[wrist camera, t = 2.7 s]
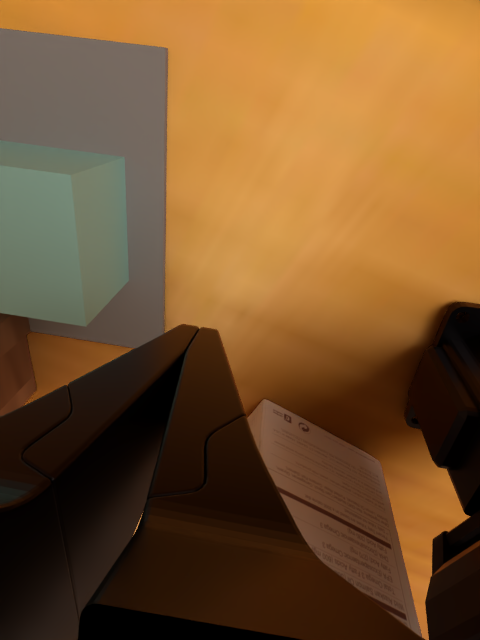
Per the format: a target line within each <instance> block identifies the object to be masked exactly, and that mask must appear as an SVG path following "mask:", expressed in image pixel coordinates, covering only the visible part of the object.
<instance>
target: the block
mask: <svg viewBox="0 0 480 640" xmlns="http://www.w3.org/2000/svg"><path fill="white" fill-rule="evenodd" d="M128 281H129V269H128V241H127V214H126V186H125V159H124V157H120V156H113V155H105V154H98V153H90V152H83V151H76V150H68V149H61V148H53V147H46V146H38V145H31V144H23V143H16V142H8V141H1V140H0V313H4V314H10V315H16V316H23V317H29V318H35V319H41V320H48V321H54V322H60V323H66V324H73V325H79V326H85V327H86V326H87V325H88V324H89V323H90V322H91V321H92V320H93V319H94V318H95V317H96V316H97V314H98V313H99V312H100V311H101V310H102V309H103V308H104V307H105V306H106V305H107V304H108V303H109V302H110V300H111V299H112V298H113V297H114V296H115V295H116V294H117V293H118V292H119V291H120V290H121V289H122V287H123V286H124V285H125V284H126V283H127V282H128Z"/></svg>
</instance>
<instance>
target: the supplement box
mask: <svg viewBox="0 0 480 640" xmlns="http://www.w3.org/2000/svg"><path fill="white" fill-rule="evenodd" d="M247 420H248V423H249V426H250V429H251V432H252V434H253V437H254V440H255V442H256V445H257V448H258V450H259V452H260V454H261V456H262V458H263V461H264V463H265V465H266V467H267V469H268V471H269V473H270V475H271V477H272V479H273V481H274V482H275V484H276V486H277V488H278V490H279V492H280V494H281V496H282V498H283V500H284V502H285V504H286V505H287V507H288V509H289V511H290V513H291V515H292V517H293V519H294V521H295V523H296V525H297V527H298V528H299V530H300V532H301V534H302V536H303V537H304V539H305V541H306V542H307V544H308V545H309V547H310V548H311V549H312V550H313V552H314V553H315V554H316V555H317V557H318V558H319V559H320V560H321V561H322V562H323V563H324V564H326V565H327V566H328V567H329V568H331V569H332V570H333V571H335V572H336V573H337V574H339V575H340V576H341V577H343V578H344V579H345V580H347V581H348V582H349V583H351V584H352V585H353V586H354V587H356V588H357V589H358V590H360V591H361V592H362V593H364V594H365V595H366V596H368V597H369V598H370V599H372V600H373V601H374V602H376V603H377V604H378V605H380V606H381V607H382V608H383V609H385V610H386V611H387V612H389V613H390V614H391V615H393V616H394V617H395V618H397V619H398V620H399V621H401V622H402V623H403V624H405V625H406V626H407V627H408V628H410V629H411V630H412V631H414V632H415V633H416V634H418V635H419V636H421V637H422V634H421V630H420V626H419V622H418V618H417V614H416V610H415V606H414V601H413V597H412V593H411V589H410V584H409V580H408V576H407V572H406V567H405V563H404V559H403V555H402V551H401V546H400V542H399V537H398V533H397V529H396V526H395V521H394V517H393V513H392V508H391V504H390V500H389V495H388V491H387V487H386V483H385V479H384V475H383V471H382V467H381V463H380V461H379V460H377V459H375V458H374V457H373V456H371V455H369V454H367V453H366V452H364V451H362V450H360V449H358V448H357V447H355V446H353V445H351V444H349V443H347V442H346V441H344V440H342V439H340V438H338V437H336V436H334V435H332V434H331V433H329V432H327V431H325V430H323V429H322V428H320V427H318V426H316V425H314V424H312V423H310V422H309V421H307V420H305V419H303V418H301V417H300V416H298V415H296V414H294V413H292V412H290V411H288V410H286V409H284V408H282V407H281V406H279V405H277V404H275V403H273V402H271V401H269V400H266V399H263V400H262V401H261V403H260V404H259V405H258V406H257V407H256V409H255V410H254V411H253V412H252V413H251V414H250V416H249V417H248V418H247Z"/></svg>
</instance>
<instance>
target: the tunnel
mask: <svg viewBox="0 0 480 640" xmlns="http://www.w3.org/2000/svg"><path fill="white" fill-rule="evenodd" d="M29 332H31V330H30V325H29V319H28V317H23V316H16V315H10V314H4V313H0V416H3V415H5V414H7V413H9V412H12V411H14V410H16V409H18V408H20V407H22V406H23V405H24V404H25V402H26V401H27V400H28V399H29V398H30V397H31V396H32V395H33V393H34V392H35V391H36V390H37V389H36V384H35V379H34V374H33V368H32V363H31V358H30V353H29V347H28V342H27V337H26V335H27V334H28V333H29Z"/></svg>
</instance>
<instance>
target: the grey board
mask: <svg viewBox="0 0 480 640" xmlns="http://www.w3.org/2000/svg"><path fill="white" fill-rule="evenodd" d="M167 79H168V49H167V48H164V47H155V46H147V45H138V44H130V43H121V42H113V41H104V40H96V39H87V38H78V37H70V36H61V35H53V34H44V33H36V32H27V31H19V30H10V29H2V28H0V140H1V141H8V142H16V143H23V144H31V145H38V146H46V147H53V148H61V149H68V150H76V151H83V152H90V153H98V154H105V155H113V156H120V157H124V159H125V186H126V214H127V241H128V269H129V281H128V282H127V283H126V284H125V285H124V286H123V287H122V289H121V290H120V291H119V292H118V293H117V294H116V295H115V296H114V297H113V298H112V299H111V300H110V302H109V303H108V304H107V305H106V306H105V307H104V308H103V309H102V310H101V311H100V312H99V313H98V314H97V316H96V317H95V318H94V319H93V320H92V321H91V322H90V323H89V324H88V325H87V326H86V327H85V326H79V325H73V324H66V323H60V322H54V321H48V320H41V319H35V318H29V317H28V319H29V325H30V330H31V332H38V333H44V334H50V335H56V336H62V337H69V338H75V339H81V340H87V341H93V342H99V343H106V344H112V345H118V346H124V347H130V348H137V347H139V346H141V345H143V344H145V343H147V342H149V341H151V340H152V339H154V338H156V337H158V336H160V335H162V334H164V311H165V234H166V156H167Z"/></svg>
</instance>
